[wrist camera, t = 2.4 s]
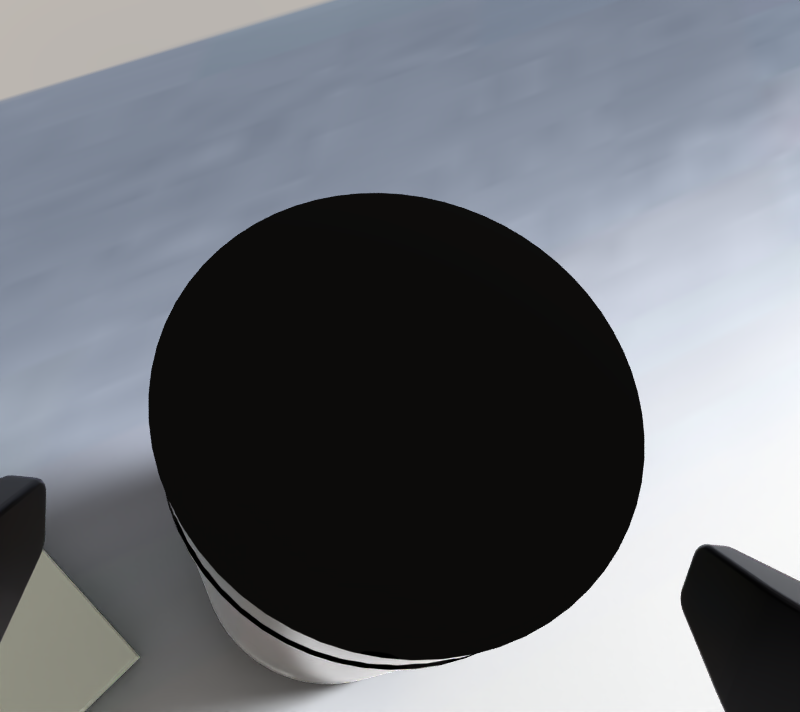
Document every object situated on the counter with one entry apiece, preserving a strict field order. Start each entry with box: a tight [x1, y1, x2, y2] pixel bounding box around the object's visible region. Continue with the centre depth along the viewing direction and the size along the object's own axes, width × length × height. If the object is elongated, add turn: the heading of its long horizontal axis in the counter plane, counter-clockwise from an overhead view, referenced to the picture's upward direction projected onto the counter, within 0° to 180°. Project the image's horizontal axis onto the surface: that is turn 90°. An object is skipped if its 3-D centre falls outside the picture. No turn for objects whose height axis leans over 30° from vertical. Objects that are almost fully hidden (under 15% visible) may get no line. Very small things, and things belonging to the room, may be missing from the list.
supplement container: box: [149, 193, 644, 684], centre depth 13 cm, size 7×7×10 cm
